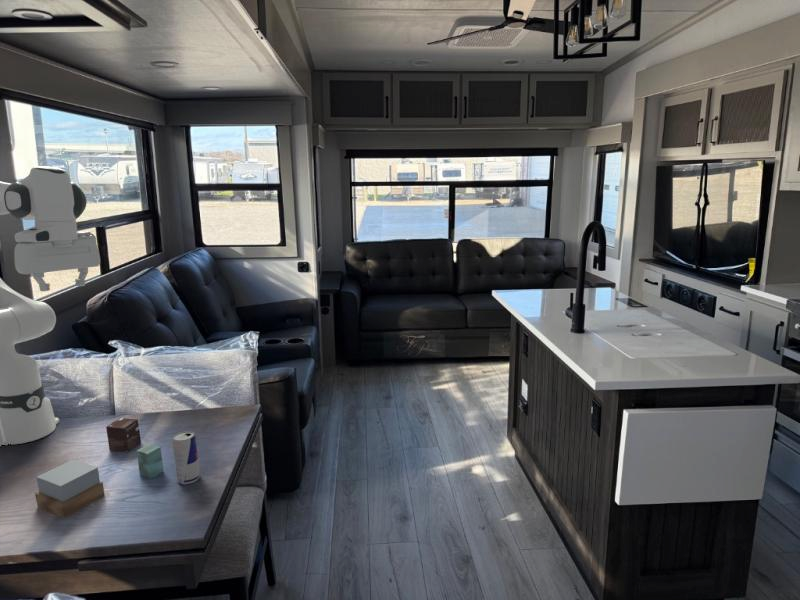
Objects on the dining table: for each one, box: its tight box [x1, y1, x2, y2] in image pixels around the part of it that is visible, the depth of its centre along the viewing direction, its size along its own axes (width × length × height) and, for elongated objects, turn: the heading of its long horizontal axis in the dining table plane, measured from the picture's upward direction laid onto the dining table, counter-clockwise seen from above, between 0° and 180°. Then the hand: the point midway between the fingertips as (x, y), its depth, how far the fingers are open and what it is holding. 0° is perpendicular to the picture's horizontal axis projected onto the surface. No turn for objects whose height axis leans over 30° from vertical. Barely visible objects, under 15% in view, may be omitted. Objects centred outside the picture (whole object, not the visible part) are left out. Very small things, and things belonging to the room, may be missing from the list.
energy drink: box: [172, 430, 201, 485], centre depth 141 cm, size 5×5×12 cm
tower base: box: [34, 480, 106, 519], centre depth 134 cm, size 10×10×4 cm
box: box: [105, 417, 142, 453], centre depth 159 cm, size 6×6×7 cm
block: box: [136, 443, 164, 480], centre depth 145 cm, size 4×4×7 cm
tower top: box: [36, 459, 101, 502], centre depth 133 cm, size 9×9×4 cm
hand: (63, 288), depth 142 cm, fingers open, 8 cm apart
